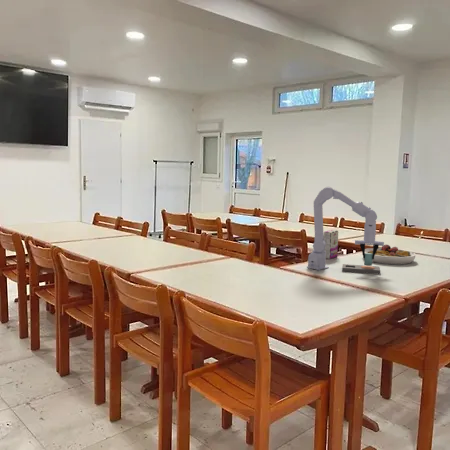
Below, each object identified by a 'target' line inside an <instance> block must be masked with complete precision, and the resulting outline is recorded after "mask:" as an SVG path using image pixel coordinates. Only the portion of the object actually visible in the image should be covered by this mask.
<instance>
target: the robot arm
mask: <svg viewBox="0 0 450 450" xmlns="http://www.w3.org/2000/svg"><path fill="white" fill-rule="evenodd" d="M330 199H333V200H339V201H341V202H342V203H344V204H346V205H348V206H349V207H351V211H352V212H354V213H356V214H357V215H359V216H361V218H365V222H364V230H363V239H362V240H360V239H359V240H354V245H359V246H360V249H361V253H363V254H362V259H363V260H364V259H365V249H366V246H372V248H373V257H372V259H374V256H375V253H376V251H377V249H378V248H379V247H382V246H384V245H385V242H384V241H377V240H376V231H377V230H376V229H377V219H378V216H377V213H376V212H375V210H374V209H372V207H370V206H369V207H368V206H366V205H365V204H364V202H362V201H354V200H353V199H351V198H350V197H348V196H347V195H345V194H344V193H342V192H341V191H339V190H337V189H335V188H334V189H333V187H331V186H326V187H324V188H322V189H321V190H320V191H319V192H318V194H317V196H316V197H315V199H314V200H313V221H314V222H313V223H314V224H313V225H314V227H313V228H314V237H313V238H314V240H313V241H314V242H313V244H312V248H313V249H312V252H311V253H309V255H308V259H307V266H306V268H308V269H313V270H316V271H319V270H320V271H321V270H324V269H328V268H329V266H327V265H326V261H327V260H326V251H325V246H326V242H325V240H324V214H323V213H324V212H323V205H324V204H325V203H326V202H327V201H329V200H330Z"/></svg>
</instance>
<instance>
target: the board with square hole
mask: <svg viewBox="0 0 450 450" xmlns="http://www.w3.org/2000/svg"><path fill="white" fill-rule="evenodd" d="M361 266H364V264H362V265H361V264H349V263H348V264H346V263H343V264H342V268H341V272H345V273H346V272H347V273H355V274H356V273H358V274H371V275H372V274H373V275H381V267H380V266H373V265H372V267H375V269H364V268H361Z"/></svg>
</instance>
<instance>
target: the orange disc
mask: <svg viewBox="0 0 450 450" xmlns="http://www.w3.org/2000/svg"><path fill="white" fill-rule="evenodd" d="M372 266H373V265H372ZM372 266H366V265H363V266H361V268H364V269H375V267H372Z"/></svg>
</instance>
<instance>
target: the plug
mask: <svg viewBox="0 0 450 450" xmlns="http://www.w3.org/2000/svg"><path fill="white" fill-rule="evenodd" d="M372 257H373V254H371V253H365V259H363V261H364V262H363V266H373V262H372Z"/></svg>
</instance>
